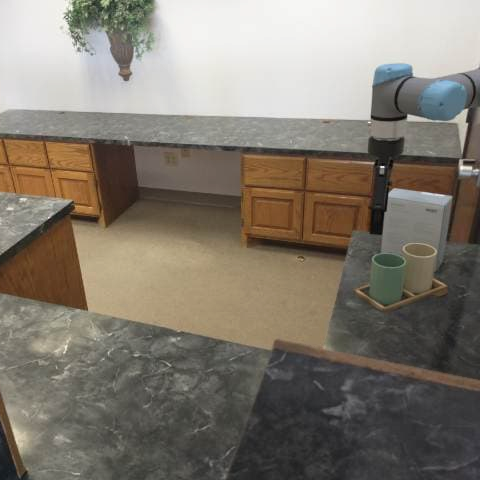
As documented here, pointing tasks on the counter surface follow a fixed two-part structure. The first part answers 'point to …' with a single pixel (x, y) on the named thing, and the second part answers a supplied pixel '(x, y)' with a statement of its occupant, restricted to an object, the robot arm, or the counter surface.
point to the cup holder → (437, 290)
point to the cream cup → (418, 267)
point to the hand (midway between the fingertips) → (378, 222)
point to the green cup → (387, 278)
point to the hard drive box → (416, 221)
